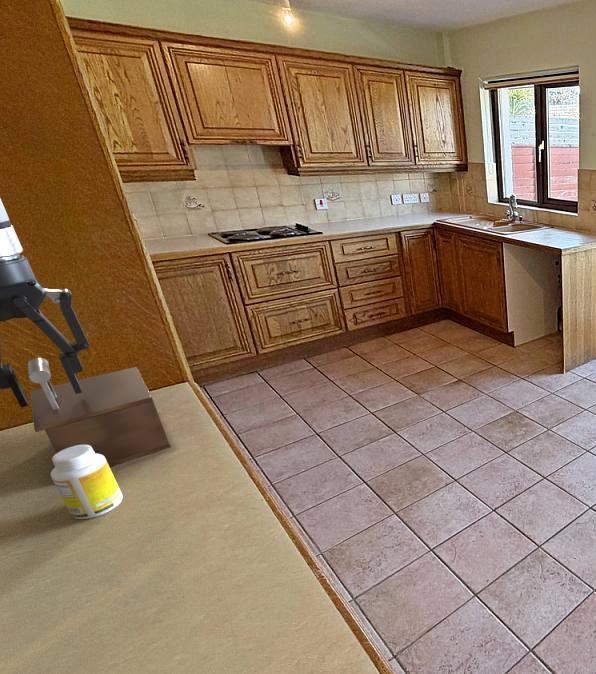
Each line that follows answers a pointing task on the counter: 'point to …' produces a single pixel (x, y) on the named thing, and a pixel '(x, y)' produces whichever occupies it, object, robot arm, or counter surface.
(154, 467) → the counter surface
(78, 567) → the counter surface
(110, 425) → the chest
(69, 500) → the supplement bottle
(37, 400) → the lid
